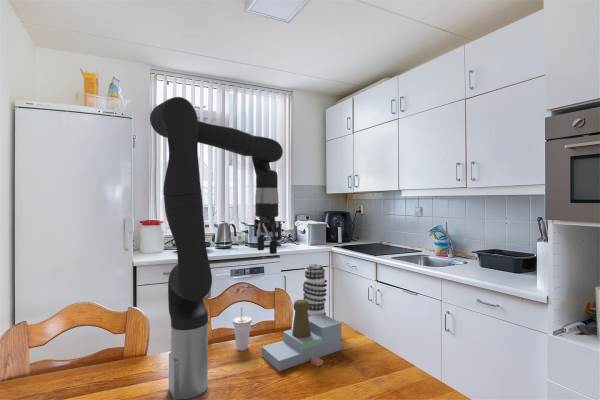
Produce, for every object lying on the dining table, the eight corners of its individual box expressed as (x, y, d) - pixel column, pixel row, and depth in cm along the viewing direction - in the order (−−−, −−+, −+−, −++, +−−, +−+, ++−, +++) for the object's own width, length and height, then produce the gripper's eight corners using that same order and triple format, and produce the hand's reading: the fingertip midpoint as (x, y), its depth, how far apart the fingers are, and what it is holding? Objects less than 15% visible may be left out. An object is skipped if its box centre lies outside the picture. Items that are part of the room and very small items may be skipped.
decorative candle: (330, 334, 117) (330, 267, 118) (306, 336, 115) (306, 268, 115) (322, 325, 126) (322, 262, 126) (300, 327, 124) (300, 263, 124)
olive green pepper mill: (311, 330, 106) (311, 298, 106) (310, 338, 100) (310, 303, 100) (293, 330, 106) (293, 297, 107) (291, 337, 100) (291, 303, 101)
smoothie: (228, 351, 104) (229, 308, 104) (238, 342, 110) (238, 302, 110) (246, 353, 102) (246, 310, 102) (254, 345, 108) (255, 304, 108)
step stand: (279, 371, 91) (279, 340, 91) (261, 355, 101) (261, 327, 101) (341, 350, 105) (341, 323, 105) (321, 338, 114) (321, 313, 114)
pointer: (316, 366, 94) (316, 363, 94) (308, 360, 98) (308, 357, 98) (323, 364, 96) (323, 360, 96) (314, 358, 99) (314, 355, 99)
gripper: (247, 202, 107) (247, 250, 106) (267, 202, 95) (266, 256, 95) (266, 202, 111) (266, 248, 111) (288, 202, 99) (288, 253, 99)
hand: (266, 251), depth 103 cm, fingers open, 8 cm apart
